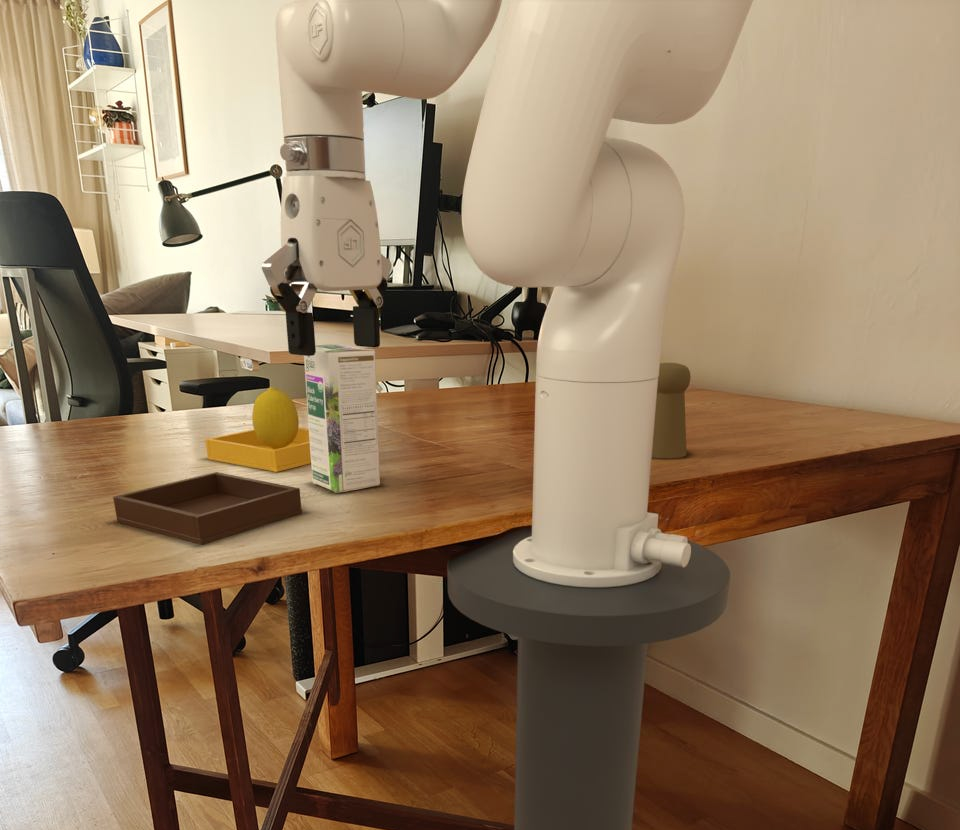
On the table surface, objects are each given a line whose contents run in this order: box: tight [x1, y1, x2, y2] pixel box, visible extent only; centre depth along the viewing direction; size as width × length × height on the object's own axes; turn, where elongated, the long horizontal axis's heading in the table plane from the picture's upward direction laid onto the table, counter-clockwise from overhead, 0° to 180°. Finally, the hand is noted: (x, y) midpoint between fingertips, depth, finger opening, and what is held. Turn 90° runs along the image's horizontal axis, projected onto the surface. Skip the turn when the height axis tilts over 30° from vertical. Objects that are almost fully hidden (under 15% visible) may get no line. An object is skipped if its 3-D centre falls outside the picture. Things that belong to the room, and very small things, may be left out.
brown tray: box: [112, 471, 303, 545], centre depth 83 cm, size 12×12×2 cm
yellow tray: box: [204, 426, 311, 473], centre depth 108 cm, size 12×12×2 cm
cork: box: [652, 362, 692, 459], centre depth 108 cm, size 6×6×11 cm
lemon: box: [251, 386, 300, 449], centre depth 106 cm, size 6×6×8 cm
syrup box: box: [303, 344, 381, 494], centre depth 92 cm, size 6×6×14 cm
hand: (336, 350), depth 89 cm, fingers open, 9 cm apart
